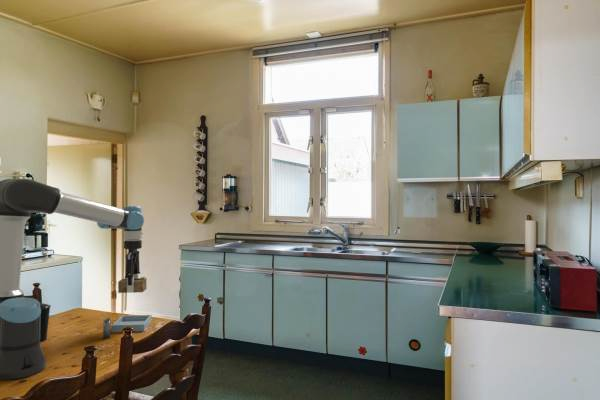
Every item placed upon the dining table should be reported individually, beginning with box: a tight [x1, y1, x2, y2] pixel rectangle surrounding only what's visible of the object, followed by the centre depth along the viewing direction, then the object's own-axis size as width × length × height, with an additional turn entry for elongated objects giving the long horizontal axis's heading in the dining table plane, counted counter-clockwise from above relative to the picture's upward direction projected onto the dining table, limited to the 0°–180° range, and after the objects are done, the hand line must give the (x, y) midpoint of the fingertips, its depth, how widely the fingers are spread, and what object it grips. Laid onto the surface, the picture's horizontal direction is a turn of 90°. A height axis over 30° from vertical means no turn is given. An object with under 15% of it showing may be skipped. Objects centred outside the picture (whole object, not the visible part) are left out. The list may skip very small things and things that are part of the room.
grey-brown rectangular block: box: [117, 276, 148, 294], centre depth 190 cm, size 10×7×6 cm
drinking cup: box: [38, 290, 52, 343], centre depth 170 cm, size 8×8×20 cm
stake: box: [102, 316, 112, 340], centre depth 174 cm, size 4×3×8 cm
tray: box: [111, 314, 153, 333], centre depth 190 cm, size 16×14×3 cm
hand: (132, 290), depth 190 cm, fingers closed on grey-brown rectangular block, 7 cm apart
